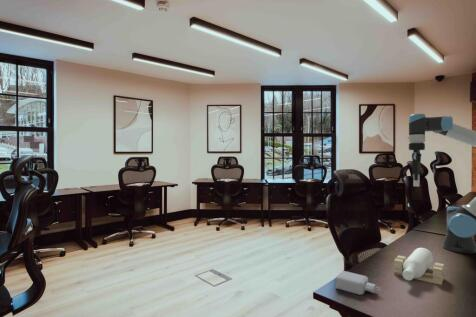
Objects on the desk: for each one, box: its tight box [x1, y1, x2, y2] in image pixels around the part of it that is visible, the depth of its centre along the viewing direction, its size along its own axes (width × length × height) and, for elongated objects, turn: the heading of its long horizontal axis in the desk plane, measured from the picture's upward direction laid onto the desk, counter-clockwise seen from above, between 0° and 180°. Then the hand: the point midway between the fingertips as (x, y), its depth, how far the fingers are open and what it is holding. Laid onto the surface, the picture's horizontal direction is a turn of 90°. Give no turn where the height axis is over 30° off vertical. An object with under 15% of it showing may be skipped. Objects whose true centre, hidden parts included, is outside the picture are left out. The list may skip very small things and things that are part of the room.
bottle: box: [402, 247, 434, 281], centre depth 126 cm, size 8×8×30 cm
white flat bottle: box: [335, 270, 382, 296], centre depth 113 cm, size 5×9×15 cm
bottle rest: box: [393, 255, 445, 286], centre depth 126 cm, size 8×17×6 cm, turn 51°
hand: (416, 186), depth 161 cm, fingers closed
